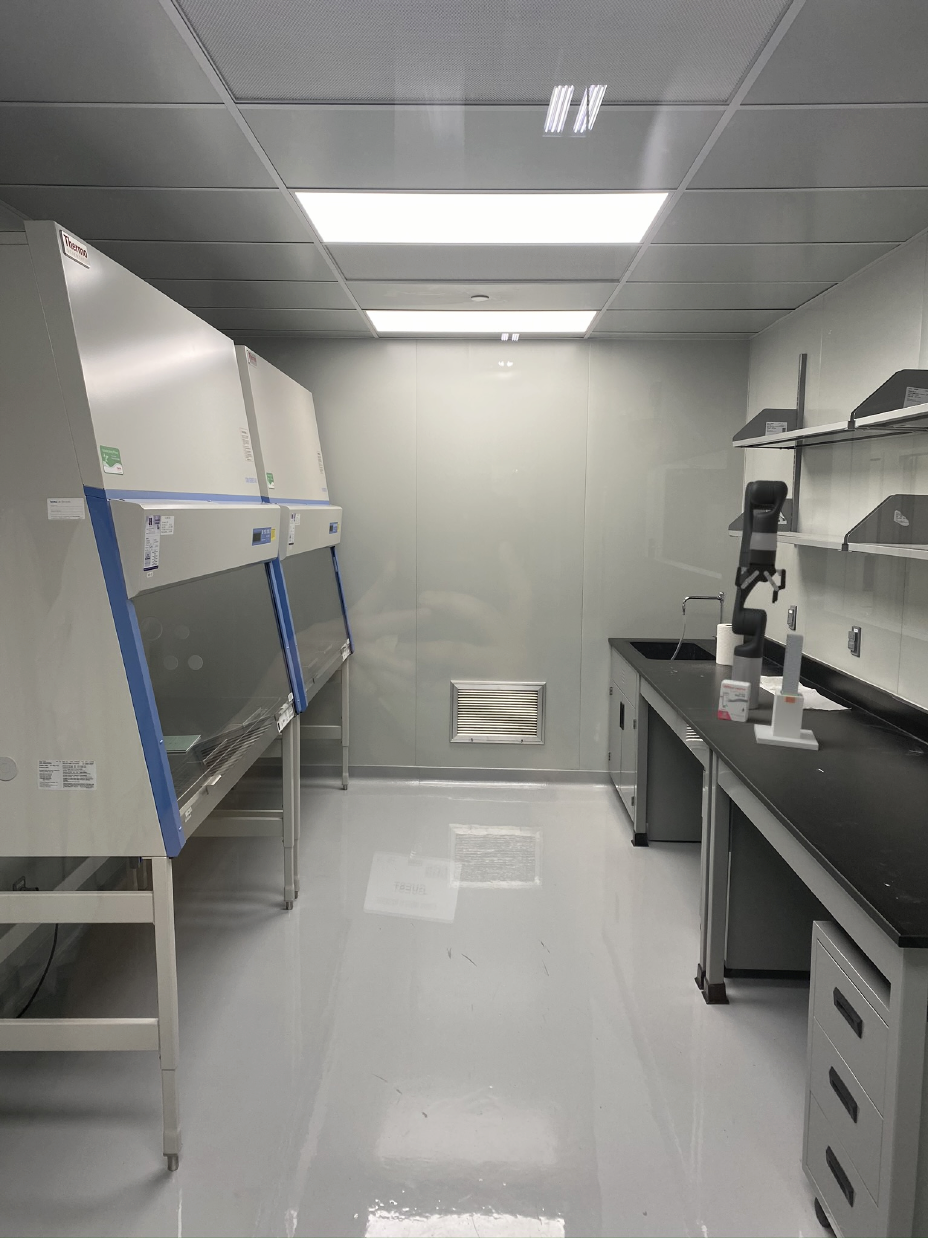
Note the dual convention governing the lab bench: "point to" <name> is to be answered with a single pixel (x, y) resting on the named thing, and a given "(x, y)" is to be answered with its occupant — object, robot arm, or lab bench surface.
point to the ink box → (734, 700)
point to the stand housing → (786, 724)
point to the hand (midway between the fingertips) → (758, 602)
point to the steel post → (792, 665)
